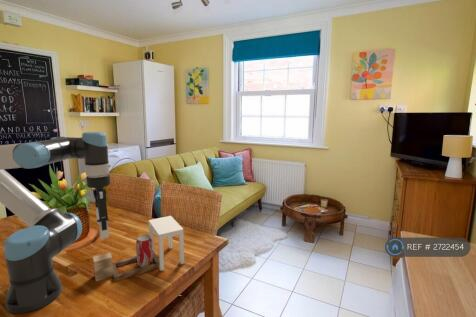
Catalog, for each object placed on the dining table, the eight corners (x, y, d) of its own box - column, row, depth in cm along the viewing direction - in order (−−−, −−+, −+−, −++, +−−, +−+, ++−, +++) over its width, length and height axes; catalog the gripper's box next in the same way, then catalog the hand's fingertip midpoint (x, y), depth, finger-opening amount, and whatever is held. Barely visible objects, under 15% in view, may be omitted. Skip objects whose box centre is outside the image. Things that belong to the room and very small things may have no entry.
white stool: (160, 270, 104) (158, 234, 102) (150, 252, 118) (148, 220, 115) (184, 263, 110) (183, 229, 107) (171, 246, 123) (170, 215, 120)
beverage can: (149, 269, 105) (148, 241, 103) (134, 268, 106) (132, 241, 104) (155, 260, 111) (154, 234, 109) (141, 259, 112) (139, 233, 110)
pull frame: (96, 286, 95) (94, 266, 93) (94, 271, 104) (92, 252, 102) (160, 267, 107) (159, 249, 105) (152, 254, 116) (152, 237, 114)
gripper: (114, 181, 85) (118, 241, 89) (105, 167, 106) (109, 216, 110) (88, 185, 82) (94, 247, 85) (84, 169, 102) (89, 220, 106)
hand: (102, 230), depth 98 cm, fingers open, 13 cm apart
